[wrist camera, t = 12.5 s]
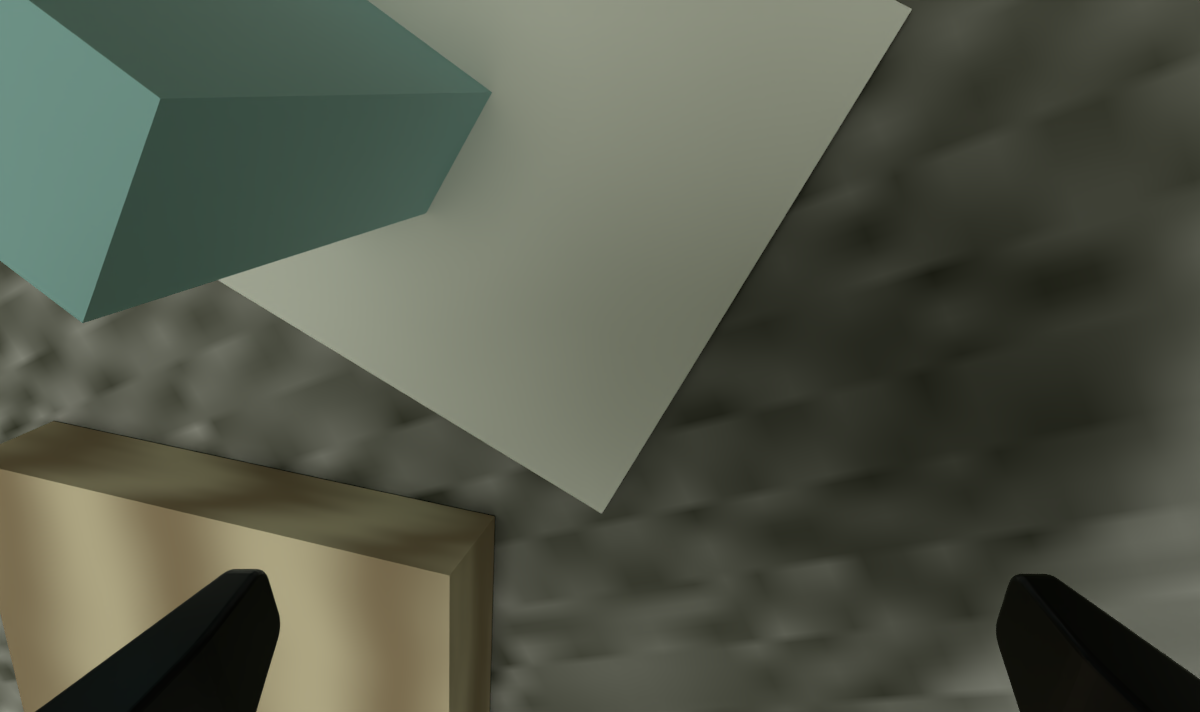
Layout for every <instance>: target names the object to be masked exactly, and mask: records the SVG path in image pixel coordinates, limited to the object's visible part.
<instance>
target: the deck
mask: <svg viewBox="0 0 1200 712" xmlns="http://www.w3.org/2000/svg"><path fill="white" fill-rule="evenodd" d="M494 530H495V516H491V515H486V514H481V513H477V512H472V511H467V510H463V509H458V508H453V507H449V506H444V505H440V504H435V503H430V502H426V501H421V500H416V499H412V498H407V497H403V496H398V495H393V494H389V493H384V492H379V491H375V490H370V489H365V488H361V487H356V486H352V485H347V484H342V483H338V482H333V481H328V480H324V479H319V478H314V477H310V476H305V475H301V474H296V473H291V472H287V471H282V470H277V469H273V468H268V467H264V466H259V465H254V464H250V463H245V462H240V461H236V460H231V459H226V458H222V457H217V456H213V455H208V454H203V453H199V452H194V451H189V450H185V449H180V448H175V447H171V446H166V445H162V444H157V443H152V442H148V441H143V440H138V439H134V438H129V437H125V436H120V435H115V434H111V433H106V432H101V431H97V430H92V429H87V428H83V427H78V426H74V425H69V424H64V423H60V422H55V421H53V422H50V423H48V424H46V425H43V426H41V427H39V428H37V429H34V430H32V431H30V432H27V433H25V434H23V435H20V436H18V437H16V438H14V439H11V440H9V441H7V442H4V443H2V444H0V613H1V617H2V622H3V626H4V630H5V634H6V638H7V642H8V647H9V651H10V655H11V659H12V663H13V667H14V672H15V676H16V680H17V684H18V688H19V692H20V697H21V701H22V705H23V709H24V712H35V711H37V710H38V709H39V708H41V707H42V706H43V705H45V704H46V703H48V702H49V701H50V700H52V699H53V698H54V697H56V696H57V695H58V694H60V693H61V692H62V691H64V690H65V689H67V688H68V687H69V686H71V685H72V684H73V683H75V682H76V681H77V680H79V679H80V678H81V677H83V676H84V675H86V674H87V673H88V672H90V671H91V670H92V669H94V668H95V667H96V666H98V665H99V664H101V663H102V662H103V661H105V660H106V659H107V658H109V657H110V656H111V655H113V654H114V653H115V652H117V651H118V650H120V649H121V648H122V647H124V646H125V645H126V644H128V643H129V642H130V641H132V640H133V639H134V638H136V637H137V636H139V635H140V634H141V633H143V632H144V631H145V630H147V629H148V628H149V627H151V626H152V625H154V624H155V623H156V622H158V621H159V620H160V619H162V618H163V617H164V616H166V615H167V614H168V613H170V612H171V611H173V610H174V609H175V608H177V607H178V606H179V605H181V604H182V603H183V602H185V601H186V600H187V599H189V598H190V597H192V596H193V595H194V594H196V593H197V592H198V591H200V590H201V589H202V588H204V587H205V586H206V585H208V584H209V583H211V582H212V581H213V580H215V579H216V578H217V577H219V576H220V575H221V574H223V573H225V572H226V571H228V570H231V569H259V570H263V571H264V572H265V573H266V574H267V576H268V579H269V582H270V585H271V589H272V592H273V595H274V599H275V602H276V605H277V609H278V612H279V616H280V632H279V637H278V641H277V644H276V648H275V651H274V654H273V658H272V661H271V664H270V668H269V671H268V674H267V678H266V681H265V684H264V688H263V691H262V694H261V698H260V701H259V704H258V708H257V711H256V712H490V680H491V642H492V605H493V567H494Z"/></svg>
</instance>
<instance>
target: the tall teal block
mask: <svg viewBox="0 0 1200 712" xmlns="http://www.w3.org/2000/svg"><path fill="white" fill-rule="evenodd" d="M491 93H492V92H491V91H490V90H488V89H487V88H486V87H484V86H483V85H481V84H480V83H479V82H477V81H476V80H475V79H473V78H472V77H471V76H469V75H468V74H467V73H465V72H464V71H462V70H461V69H460V68H458V67H457V66H456V65H454V64H453V63H452V62H450V61H449V60H448V59H446V58H445V57H444V56H442V55H441V54H439V53H438V52H437V51H435V50H434V49H433V48H431V47H430V46H429V45H427V44H426V43H425V42H423V41H422V40H420V39H419V38H418V37H416V36H415V35H414V34H412V33H411V32H410V31H408V30H407V29H406V28H404V27H403V26H401V25H400V24H399V23H397V22H396V21H395V20H393V19H392V18H391V17H389V16H388V15H387V14H385V13H384V12H382V11H381V10H380V9H378V8H377V7H376V6H374V5H373V4H372V3H370V2H369V1H368V0H0V261H1V262H3V263H4V264H5V265H7V266H8V267H9V268H11V269H12V270H13V271H15V272H16V273H17V274H19V275H20V276H21V277H23V278H24V279H25V280H26V281H28V282H29V283H30V284H32V285H33V286H34V287H36V288H37V289H38V290H40V291H41V292H42V293H44V294H45V295H46V296H48V297H49V298H50V299H52V300H53V301H54V302H55V303H57V304H58V305H59V306H61V307H62V308H63V309H65V310H66V311H67V312H69V313H70V314H71V315H73V316H74V317H75V318H77V319H78V320H79V321H81V322H82V323H84V322H88V321H91V320H94V319H97V318H100V317H103V316H106V315H109V314H113V313H116V312H119V311H122V310H125V309H128V308H131V307H134V306H138V305H141V304H144V303H147V302H150V301H153V300H156V299H159V298H163V297H166V296H169V295H172V294H175V293H178V292H181V291H184V290H188V289H191V288H194V287H197V286H200V285H203V284H206V283H210V282H213V281H216V280H219V279H222V278H225V277H228V276H231V275H235V274H238V273H241V272H244V271H247V270H250V269H253V268H256V267H260V266H263V265H266V264H269V263H272V262H275V261H278V260H281V259H285V258H288V257H291V256H294V255H297V254H300V253H303V252H306V251H310V250H313V249H316V248H319V247H322V246H325V245H328V244H332V243H335V242H338V241H341V240H344V239H347V238H350V237H353V236H357V235H360V234H363V233H366V232H369V231H372V230H375V229H378V228H382V227H385V226H388V225H391V224H394V223H397V222H400V221H403V220H407V219H410V218H413V217H416V216H419V215H422V214H425V213H426V212H427V211H428V209H429V207H430V205H431V203H432V201H433V200H434V198H435V196H436V194H437V192H438V190H439V189H440V187H441V185H442V183H443V181H444V179H445V178H446V176H447V174H448V172H449V170H450V168H451V167H452V165H453V163H454V161H455V159H456V157H457V156H458V154H459V152H460V150H461V148H462V146H463V145H464V143H465V141H466V139H467V137H468V135H469V134H470V132H471V130H472V128H473V126H474V125H475V123H476V121H477V119H478V117H479V115H480V114H481V112H482V110H483V108H484V106H485V104H486V103H487V101H488V99H489V97H490V95H491Z"/></svg>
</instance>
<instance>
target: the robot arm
mask: <svg viewBox="0 0 1200 712" xmlns="http://www.w3.org/2000/svg"><path fill="white" fill-rule="evenodd" d="M279 632H280V616H279V612H278V609H277V605H276V602H275V599H274V595H273V592H272V589H271V585H270V582H269V579H268V576H267V574H266V573H265V572H264V571H263V570H259V569H231V570H228V571H226V572H225V573H223V574H221V575H220V576H219V577H217V578H216V579H215V580H213V581H212V582H211V583H209V584H208V585H206V586H205V587H204V588H202V589H201V590H200V591H198V592H197V593H196V594H194V595H193V596H192V597H190V598H189V599H187V600H186V601H185V602H183V603H182V604H181V605H179V606H178V607H177V608H175V609H174V610H173V611H171V612H170V613H168V614H167V615H166V616H164V617H163V618H162V619H160V620H159V621H158V622H156V623H155V624H154V625H152V626H151V627H149V628H148V629H147V630H145V631H144V632H143V633H141V634H140V635H139V636H137V637H136V638H134V639H133V640H132V641H130V642H129V643H128V644H126V645H125V646H124V647H122V648H121V649H120V650H118V651H117V652H115V653H114V654H113V655H111V656H110V657H109V658H107V659H106V660H105V661H103V662H102V663H101V664H99V665H98V666H96V667H95V668H94V669H92V670H91V671H90V672H88V673H87V674H86V675H84V676H83V677H81V678H80V679H79V680H77V681H76V682H75V683H73V684H72V685H71V686H69V687H68V688H67V689H65V690H64V691H62V692H61V693H60V694H58V695H57V696H56V697H54V698H53V699H52V700H50V701H49V702H48V703H46V704H45V705H43V706H42V707H41V708H39V709H38V710H37V711H35V712H256V711H257V708H258V704H259V701H260V698H261V694H262V691H263V688H264V684H265V681H266V678H267V674H268V671H269V668H270V664H271V661H272V658H273V654H274V651H275V648H276V644H277V641H278V637H279ZM996 636H997V641H998V645H999V648H1000V651H1001V654H1002V658H1003V661H1004V664H1005V667H1006V670H1007V673H1008V676H1009V679H1010V682H1011V686H1012V689H1013V692H1014V695H1015V698H1016V701H1017V704H1018V707H1019V710H1020V712H1200V679H1199V678H1198V677H1196V676H1195V675H1193V674H1192V673H1190V672H1189V671H1188V670H1186V669H1185V668H1183V667H1182V666H1181V665H1179V664H1178V663H1176V662H1175V661H1173V660H1172V659H1171V658H1169V657H1168V656H1166V655H1165V654H1164V653H1162V652H1161V651H1159V650H1158V649H1156V648H1155V647H1154V646H1152V645H1151V644H1149V643H1148V642H1147V641H1145V640H1144V639H1142V638H1141V637H1139V636H1138V635H1137V634H1135V633H1134V632H1132V631H1131V630H1130V629H1128V628H1127V627H1125V626H1124V625H1123V624H1121V623H1120V622H1118V621H1117V620H1115V619H1114V618H1113V617H1111V616H1110V615H1108V614H1107V613H1106V612H1104V611H1103V610H1101V609H1100V608H1098V607H1097V606H1096V605H1094V604H1093V603H1091V602H1090V601H1089V600H1087V599H1086V598H1084V597H1083V596H1081V595H1080V594H1079V593H1077V592H1076V591H1074V590H1073V589H1072V588H1070V587H1069V586H1067V585H1066V584H1064V583H1063V582H1062V581H1060V580H1059V579H1057V578H1055V577H1054V576H1051V575H1047V574H1018V575H1015V576H1014V577H1013V578H1012V579H1011V580H1010V582H1009V585H1008V588H1007V591H1006V594H1005V597H1004V601H1003V604H1002V607H1001V610H1000V613H999V616H998V620H997V624H996Z"/></svg>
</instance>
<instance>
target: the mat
mask: <svg viewBox="0 0 1200 712" xmlns="http://www.w3.org/2000/svg"><path fill="white" fill-rule="evenodd" d="M368 1H369V2H370V3H372V4H373V5H374V6H376V7H377V8H378V9H380V10H381V11H382V12H384V13H385V14H387V15H388V16H389V17H391V18H392V19H393V20H395V21H396V22H397V23H399V24H400V25H401V26H403V27H404V28H406V29H407V30H408V31H410V32H411V33H412V34H414V35H415V36H416V37H418V38H419V39H420V40H422V41H423V42H425V43H426V44H427V45H429V46H430V47H431V48H433V49H434V50H435V51H437V52H438V53H439V54H441V55H442V56H444V57H445V58H446V59H448V60H449V61H450V62H452V63H453V64H454V65H456V66H457V67H458V68H460V69H461V70H462V71H464V72H465V73H467V74H468V75H469V76H471V77H472V78H473V79H475V80H476V81H477V82H479V83H480V84H481V85H483V86H484V87H486V88H487V89H488V90H490V91H491V92H492V93H491V95H490V97H489V99H488V101H487V103H486V104H485V106H484V108H483V110H482V112H481V114H480V115H479V117H478V119H477V121H476V123H475V125H474V126H473V128H472V130H471V132H470V134H469V135H468V137H467V139H466V141H465V143H464V145H463V146H462V148H461V150H460V152H459V154H458V156H457V157H456V159H455V161H454V163H453V165H452V167H451V168H450V170H449V172H448V174H447V176H446V178H445V179H444V181H443V183H442V185H441V187H440V189H439V190H438V192H437V194H436V196H435V198H434V200H433V201H432V203H431V205H430V207H429V209H428V211H427V212H426V213H425V214H422V215H419V216H416V217H413V218H410V219H407V220H403V221H400V222H397V223H394V224H391V225H388V226H385V227H382V228H378V229H375V230H372V231H369V232H366V233H363V234H360V235H357V236H353V237H350V238H347V239H344V240H341V241H338V242H335V243H332V244H328V245H325V246H322V247H319V248H316V249H313V250H310V251H306V252H303V253H300V254H297V255H294V256H291V257H288V258H285V259H281V260H278V261H275V262H272V263H269V264H266V265H263V266H260V267H256V268H253V269H250V270H247V271H244V272H241V273H238V274H235V275H231V276H228V277H225V278H222V279H219V281H220V282H222V283H224V284H225V285H227V286H228V287H230V288H232V289H233V290H235V291H237V292H238V293H240V294H242V295H243V296H245V297H247V298H248V299H250V300H251V301H253V302H255V303H256V304H258V305H260V306H261V307H263V308H265V309H266V310H268V311H270V312H271V313H273V314H274V315H276V316H278V317H279V318H281V319H283V320H284V321H286V322H288V323H289V324H291V325H293V326H294V327H296V328H298V329H299V330H301V331H302V332H304V333H306V334H307V335H309V336H311V337H312V338H314V339H316V340H317V341H319V342H321V343H322V344H324V345H325V346H327V347H329V348H330V349H332V350H334V351H335V352H337V353H339V354H340V355H342V356H344V357H345V358H347V359H348V360H350V361H352V362H353V363H355V364H357V365H358V366H360V367H362V368H363V369H365V370H367V371H368V372H370V373H371V374H373V375H375V376H376V377H378V378H380V379H381V380H383V381H385V382H386V383H388V384H390V385H391V386H393V387H394V388H396V389H398V390H399V391H401V392H403V393H404V394H406V395H408V396H409V397H411V398H413V399H414V400H416V401H417V402H419V403H421V404H422V405H424V406H426V407H427V408H429V409H431V410H432V411H434V412H436V413H437V414H439V415H440V416H442V417H444V418H445V419H447V420H449V421H450V422H452V423H454V424H455V425H457V426H459V427H460V428H462V429H463V430H465V431H467V432H468V433H470V434H472V435H473V436H475V437H477V438H478V439H480V440H482V441H483V442H485V443H486V444H488V445H490V446H491V447H493V448H495V449H496V450H498V451H500V452H501V453H503V454H505V455H506V456H508V457H509V458H511V459H513V460H514V461H516V462H518V463H519V464H521V465H523V466H524V467H526V468H528V469H529V470H531V471H532V472H534V473H536V474H537V475H539V476H541V477H542V478H544V479H546V480H547V481H549V482H551V483H552V484H554V485H555V486H557V487H559V488H560V489H562V490H564V491H565V492H567V493H569V494H570V495H572V496H574V497H575V498H577V499H578V500H580V501H582V502H583V503H585V504H587V505H588V506H590V507H592V508H593V509H595V510H597V511H598V512H600V513H601V514H602V513H603V511H604V510H605V508H606V506H607V505H608V503H609V501H610V500H611V498H612V497H613V495H614V493H615V492H616V490H617V488H618V487H619V485H620V484H621V482H622V480H623V479H624V477H625V475H626V474H627V472H628V471H629V469H630V467H631V466H632V464H633V462H634V461H635V459H636V458H637V456H638V454H639V453H640V451H641V449H642V448H643V446H644V444H645V443H646V441H647V440H648V438H649V436H650V435H651V433H652V431H653V430H654V428H655V427H656V425H657V423H658V422H659V420H660V418H661V417H662V415H663V414H664V412H665V410H666V409H667V407H668V405H669V404H670V402H671V401H672V399H673V397H674V396H675V394H676V392H677V391H678V389H679V388H680V386H681V384H682V383H683V381H684V379H685V378H686V376H687V375H688V373H689V371H690V370H691V368H692V366H693V365H694V363H695V361H696V360H697V358H698V357H699V355H700V353H701V352H702V350H703V348H704V347H705V345H706V344H707V342H708V340H709V339H710V337H711V335H712V334H713V332H714V331H715V329H716V327H717V326H718V324H719V322H720V321H721V319H722V318H723V316H724V314H725V313H726V311H727V309H728V308H729V306H730V305H731V303H732V301H733V300H734V298H735V296H736V295H737V293H738V292H739V290H740V288H741V287H742V285H743V283H744V282H745V280H746V278H747V277H748V275H749V274H750V272H751V270H752V269H753V267H754V265H755V264H756V262H757V261H758V259H759V257H760V256H761V254H762V252H763V251H764V249H765V248H766V246H767V244H768V243H769V241H770V239H771V238H772V236H773V235H774V233H775V231H776V230H777V228H778V226H779V225H780V223H781V222H782V220H783V218H784V217H785V215H786V213H787V212H788V210H789V209H790V207H791V205H792V204H793V202H794V200H795V199H796V197H797V195H798V194H799V192H800V191H801V189H802V187H803V186H804V184H805V182H806V181H807V179H808V178H809V176H810V174H811V173H812V171H813V169H814V168H815V166H816V165H817V163H818V161H819V160H820V158H821V156H822V155H823V153H824V152H825V150H826V148H827V147H828V145H829V143H830V142H831V140H832V139H833V137H834V135H835V134H836V132H837V130H838V129H839V127H840V126H841V124H842V122H843V121H844V119H845V117H846V116H847V114H848V112H849V111H850V109H851V108H852V106H853V104H854V103H855V101H856V99H857V98H858V96H859V95H860V93H861V91H862V90H863V88H864V86H865V85H866V83H867V82H868V80H869V78H870V77H871V75H872V73H873V72H874V70H875V69H876V67H877V65H878V64H879V62H880V60H881V59H882V57H883V56H884V54H885V52H886V51H887V49H888V47H889V46H890V44H891V43H892V41H893V39H894V38H895V36H896V34H897V33H898V31H899V29H900V28H901V26H902V25H903V23H904V21H905V20H906V18H907V16H908V15H909V13H910V12H911V10H912V9H911V8H909V7H907V6H905V5H903V4H901V3H899V2H898V1H896V0H368Z"/></svg>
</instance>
